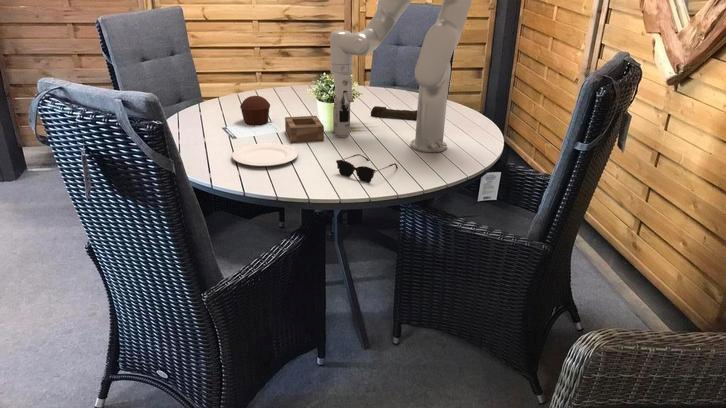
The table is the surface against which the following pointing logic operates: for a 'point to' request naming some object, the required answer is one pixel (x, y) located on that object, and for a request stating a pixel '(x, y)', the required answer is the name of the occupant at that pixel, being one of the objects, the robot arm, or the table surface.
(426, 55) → the robot arm
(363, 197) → the table surface
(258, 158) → the plate
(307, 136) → the holder block
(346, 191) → the table surface
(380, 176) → the table surface
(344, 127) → the energy drink can
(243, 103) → the muffin
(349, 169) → the sunglasses
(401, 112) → the hand tool
